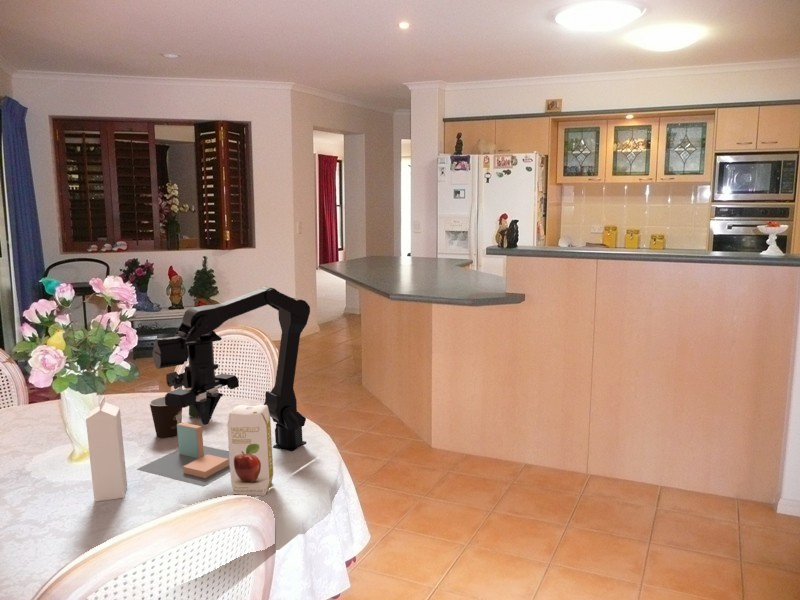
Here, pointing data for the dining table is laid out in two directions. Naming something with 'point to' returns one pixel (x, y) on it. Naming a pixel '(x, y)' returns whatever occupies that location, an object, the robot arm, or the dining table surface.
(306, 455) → the dining table surface
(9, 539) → the dining table surface
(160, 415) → the coffee mug
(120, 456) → the milk
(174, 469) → the mat
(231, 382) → the robot arm
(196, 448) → the tile
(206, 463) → the tile
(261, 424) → the juice carton
